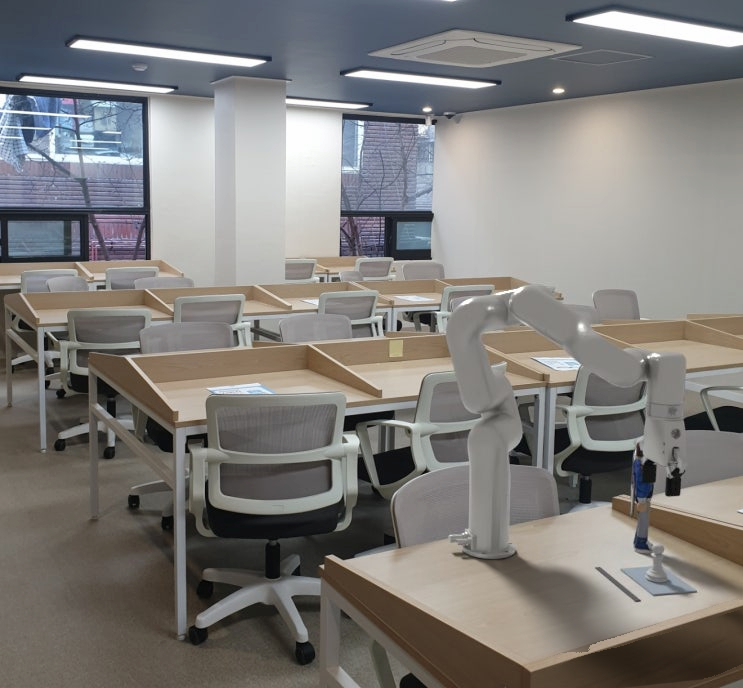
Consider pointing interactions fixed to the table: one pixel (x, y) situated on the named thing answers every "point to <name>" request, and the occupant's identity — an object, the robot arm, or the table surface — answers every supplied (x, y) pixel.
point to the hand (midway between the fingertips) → (660, 489)
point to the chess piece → (657, 565)
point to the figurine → (641, 504)
